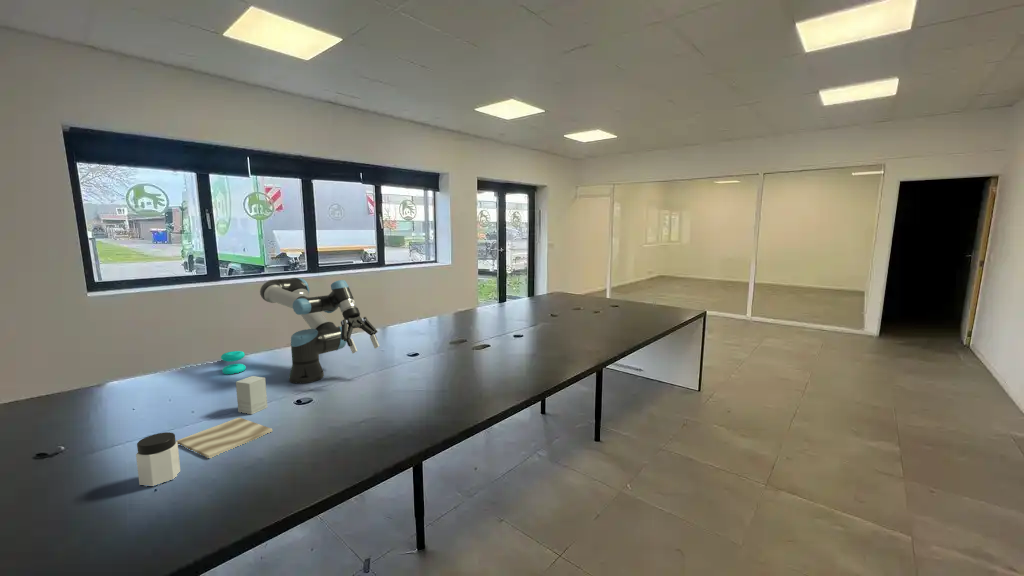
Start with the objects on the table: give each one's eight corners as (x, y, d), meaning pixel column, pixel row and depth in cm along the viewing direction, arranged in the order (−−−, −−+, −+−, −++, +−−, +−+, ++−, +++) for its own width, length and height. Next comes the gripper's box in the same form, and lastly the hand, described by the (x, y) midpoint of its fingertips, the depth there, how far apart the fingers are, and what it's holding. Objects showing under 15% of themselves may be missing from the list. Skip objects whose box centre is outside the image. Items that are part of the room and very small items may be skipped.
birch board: (176, 444, 135) (175, 440, 135) (239, 420, 153) (239, 417, 152) (209, 459, 126) (209, 455, 126) (272, 432, 144) (272, 428, 143)
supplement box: (268, 407, 164) (266, 377, 163) (251, 415, 157) (248, 383, 156) (254, 405, 167) (252, 375, 165) (237, 412, 160) (234, 381, 158)
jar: (177, 466, 122) (173, 428, 120) (183, 477, 117) (179, 437, 115) (137, 480, 115) (132, 440, 113) (142, 491, 110) (137, 450, 108)
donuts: (233, 356, 200) (215, 355, 202) (235, 375, 202) (217, 374, 203) (249, 350, 210) (232, 349, 211) (250, 369, 211) (233, 368, 213)
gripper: (332, 308, 183) (350, 350, 179) (373, 304, 205) (390, 342, 201) (322, 316, 186) (339, 357, 182) (364, 311, 208) (380, 348, 204)
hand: (366, 349), depth 191 cm, fingers open, 13 cm apart
